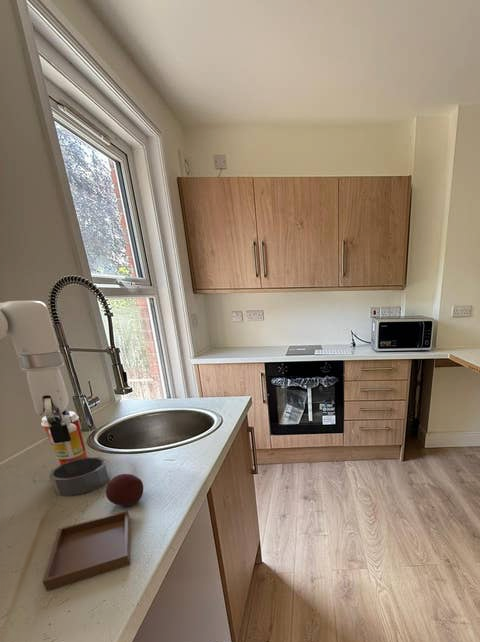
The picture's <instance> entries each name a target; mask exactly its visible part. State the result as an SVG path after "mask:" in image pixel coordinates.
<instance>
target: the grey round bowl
mask: <svg viewBox="0 0 480 642" xmlns="http://www.w3.org/2000/svg"><path fill="white" fill-rule="evenodd" d="M49 473H50V474H49V476H48V477H49V480H50V482H51V485H52V488H53V490H54V493H56V494H58V496H60V497H63V496H64V497H75V496H79V495H83V494H87V493H90V492H93V491H95V490H97V489H99V488H102V487H103V486H104V485H106V484H108V483H109V481H110V480H111V474H110V470H109V466H108V463H107V459H105V458H102V457H101V456H87V457H86V458H81V459H76V460H72V461H70V462H67V463H64V464H59V465H57V466H56V467H55V468H53V469H52V470H51V471H50V472H49Z"/></svg>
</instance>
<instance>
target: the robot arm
mask: <svg viewBox="0 0 480 642" xmlns="http://www.w3.org/2000/svg"><path fill="white" fill-rule="evenodd" d="M8 336H9V337H10V339H11V342H12V345H13V348H14V351H15V354H16V357H17V361H18V362H19V367H20V369H21V371H22V372H23V371H24V372H26V378H27V384H28V387H29V392H30V396H31V400H32V403H33V406H34V410H35V413H36V415H38V416H43V415H44V414H45V416H46V418H47V421H48V425H49V429H50V432H51V435H52V438H53V441H54V443H61V442H68V441H70V440H71V437H70V434H69V431H68V427H67V424H65V423H64V419H63V415H69V416H70V414H69V411H70V410H69V409H68V405H69V403H70V400H69V395H68V391H67V388H66V383H65V381H64V378H63V374H62V371H61V369H60V368H63V367H65V364H64V360H63V357H62V353H61V350H60V346H59V343H58V339H57V335H56V333H55V329H54V325H53V321H52V318H51V314H50V312H49V307H48V306H47V305H46V304H45V303H44V302H42V301H40V300H9V301H4V302H0V340H2V339H3V338H4V337H8ZM55 416H59V418H58V417H55ZM59 419H60V420H59ZM70 419H71V416H70ZM70 423H72V420H71V422H70ZM72 424H73V423H72Z"/></svg>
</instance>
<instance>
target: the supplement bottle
mask: <svg viewBox="0 0 480 642" xmlns="http://www.w3.org/2000/svg"><path fill="white" fill-rule="evenodd" d="M55 417H58V418H59V416H55ZM63 419H64V423H65V424H67V427H68V431H69V434H70V437H71V440H70V441H68V442H61V443H54V441H53V438H52V435H51V432H50V429H49V435H50V438H51V441H52V444H53V446H52V448H53V447H54V449H53V451H54V450H55V451H54V453H55V456H56V458H57V459H71V458H74V457H77V456H79V455H81V454H82V453H83V448H82V445H81V441H80V438H79V434H78V431H77V428H76V426H75V425H74V424H72V423H70V422H71V419H70V416H69V415H63ZM59 420H60V419H59ZM52 444H51V445H52Z"/></svg>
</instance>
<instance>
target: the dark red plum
mask: <svg viewBox="0 0 480 642" xmlns="http://www.w3.org/2000/svg"><path fill="white" fill-rule="evenodd" d="M143 494H144V483H143V480H142V479H140V478H139V477H138V476H136V475H134V474H130V473H122V474H118V475H116V476H114V477H113V478H110V480H109V481H108V482H107V483H106V487H105V496H106V498H107V500H108V501H109V502H110V503H112V504H114V505H116V506H125V507H127V506H133V505H134V504H137V503H138V502H139V501H140V500H141V498H142V497H143Z"/></svg>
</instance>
